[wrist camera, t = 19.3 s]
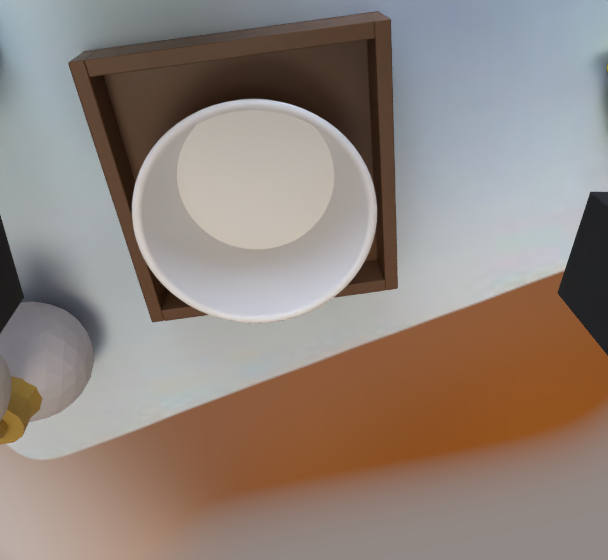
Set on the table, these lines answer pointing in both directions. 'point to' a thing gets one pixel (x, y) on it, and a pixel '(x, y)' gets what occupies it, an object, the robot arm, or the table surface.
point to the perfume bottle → (40, 366)
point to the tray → (240, 85)
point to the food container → (254, 211)
